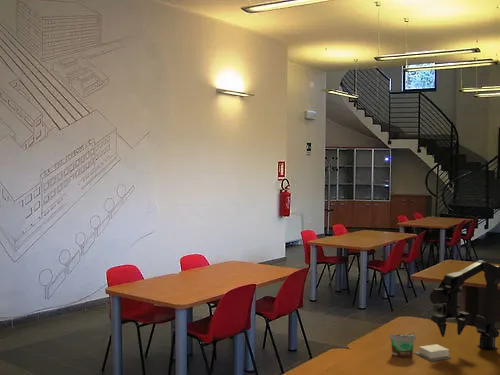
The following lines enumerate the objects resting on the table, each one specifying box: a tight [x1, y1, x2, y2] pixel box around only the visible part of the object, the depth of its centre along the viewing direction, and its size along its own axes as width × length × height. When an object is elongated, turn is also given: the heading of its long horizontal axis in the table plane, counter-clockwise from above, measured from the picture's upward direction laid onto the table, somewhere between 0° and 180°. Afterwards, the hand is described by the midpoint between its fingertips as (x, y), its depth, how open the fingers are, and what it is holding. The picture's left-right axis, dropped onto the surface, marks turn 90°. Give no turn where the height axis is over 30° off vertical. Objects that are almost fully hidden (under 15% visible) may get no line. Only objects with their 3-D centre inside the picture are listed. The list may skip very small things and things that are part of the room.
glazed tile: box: [418, 343, 450, 359], centre depth 248 cm, size 3×8×10 cm
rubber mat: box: [413, 350, 451, 362], centre depth 248 cm, size 11×12×1 cm
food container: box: [389, 331, 416, 359], centre depth 246 cm, size 12×6×10 cm, turn 105°
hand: (450, 335), depth 251 cm, fingers open, 9 cm apart
